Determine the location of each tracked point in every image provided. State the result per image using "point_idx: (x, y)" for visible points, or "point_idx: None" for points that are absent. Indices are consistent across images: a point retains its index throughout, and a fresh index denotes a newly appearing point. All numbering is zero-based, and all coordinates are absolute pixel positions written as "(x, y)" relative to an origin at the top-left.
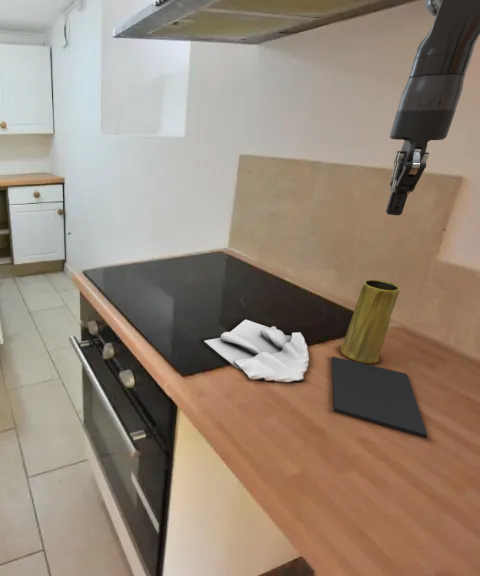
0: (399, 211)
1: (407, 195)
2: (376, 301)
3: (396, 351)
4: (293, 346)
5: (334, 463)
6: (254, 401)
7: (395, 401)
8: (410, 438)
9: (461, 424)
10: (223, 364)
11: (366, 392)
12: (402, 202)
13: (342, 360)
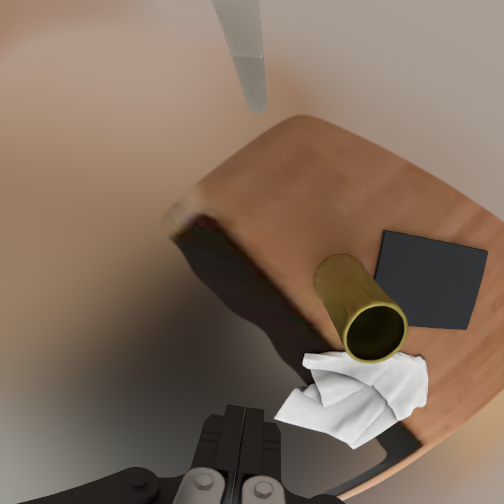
0: (277, 429)
1: (260, 471)
2: (393, 329)
3: (306, 217)
4: (359, 371)
5: None
6: (455, 391)
7: (449, 266)
8: (487, 265)
9: (460, 203)
10: (399, 425)
11: (438, 294)
12: (280, 458)
13: None
